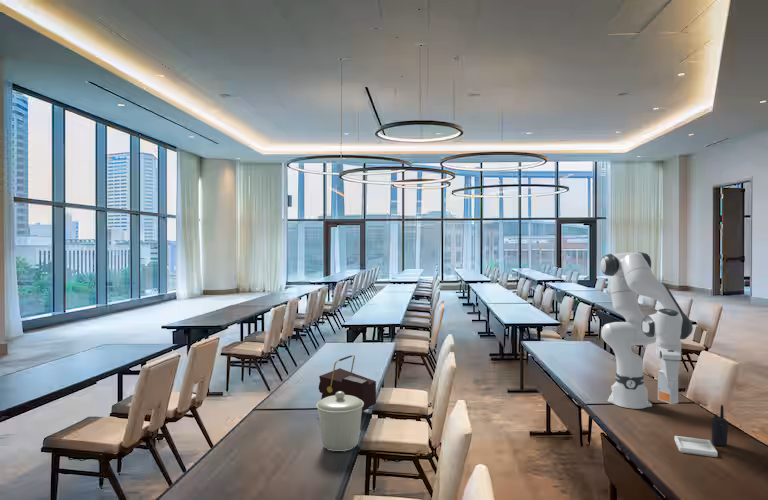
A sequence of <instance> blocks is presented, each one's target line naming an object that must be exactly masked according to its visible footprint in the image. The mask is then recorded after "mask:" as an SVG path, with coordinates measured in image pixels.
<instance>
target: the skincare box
mask: <svg viewBox="0 0 768 500" xmlns="http://www.w3.org/2000/svg"><path fill="white" fill-rule="evenodd" d="M657 400H658V401H661V402H663V403H667V404H669V405H674V404H679V378H678V379H677V380H674V382H673V389H668V388H667V378H666V377H665V375H664V373H663V371H662V370H661V369H659V370H657Z"/></svg>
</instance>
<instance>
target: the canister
mask: <svg viewBox="0 0 768 500" xmlns="http://www.w3.org/2000/svg"><path fill="white" fill-rule="evenodd" d="M363 406H364V402H363V401H362V400H361V399H359V398H357V397H355V396H351V395H345V394H344V392H342V391H338V392H337V393H336V394H335V395H333V396H328V397H326V398H323V399H322V400H321V399H320V400H319V401H317V403H316V404H315V407H316V408H317V411H318V412H317V413H318V421H319V429H320V435H321V441H322V445H323V447H324V446H325V447H326V448H328V449H332V450H345V449H350V448H352V447H354V448H356V447H357V445H358V443H359V440H360V431H361V423H362V422H361V421H362V414H363V412H362V407H363ZM325 447H324V448H325ZM326 448H325V449H326ZM328 449H327V450H328Z"/></svg>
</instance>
